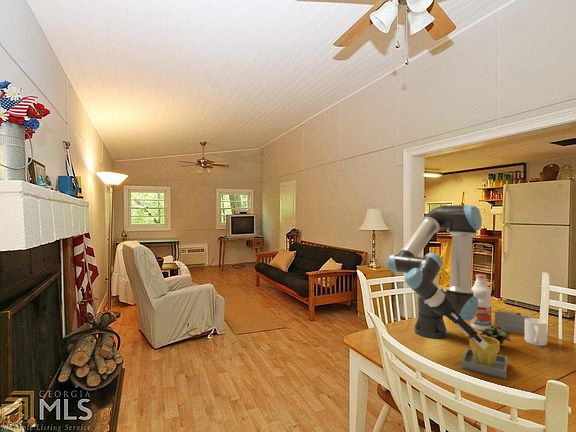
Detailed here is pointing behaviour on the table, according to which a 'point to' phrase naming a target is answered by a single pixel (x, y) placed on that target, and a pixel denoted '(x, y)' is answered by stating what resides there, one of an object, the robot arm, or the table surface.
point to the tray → (496, 371)
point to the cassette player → (511, 321)
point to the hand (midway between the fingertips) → (477, 339)
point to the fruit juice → (482, 303)
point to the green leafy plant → (496, 334)
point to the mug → (535, 331)
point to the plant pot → (485, 351)
